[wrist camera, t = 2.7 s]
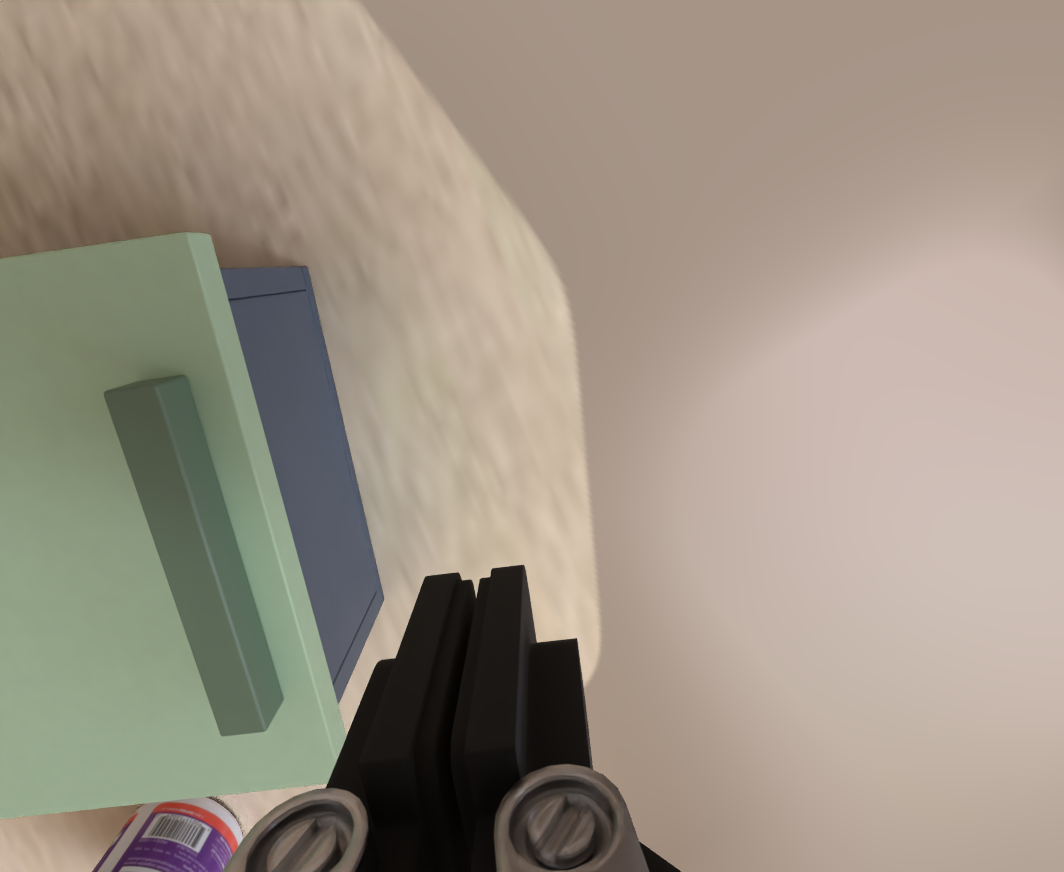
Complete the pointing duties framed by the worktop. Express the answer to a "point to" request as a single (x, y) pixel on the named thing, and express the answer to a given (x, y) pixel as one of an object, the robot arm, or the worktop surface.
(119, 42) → the worktop surface
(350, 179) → the worktop surface
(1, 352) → the bin lid
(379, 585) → the storage bin
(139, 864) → the pill bottle
